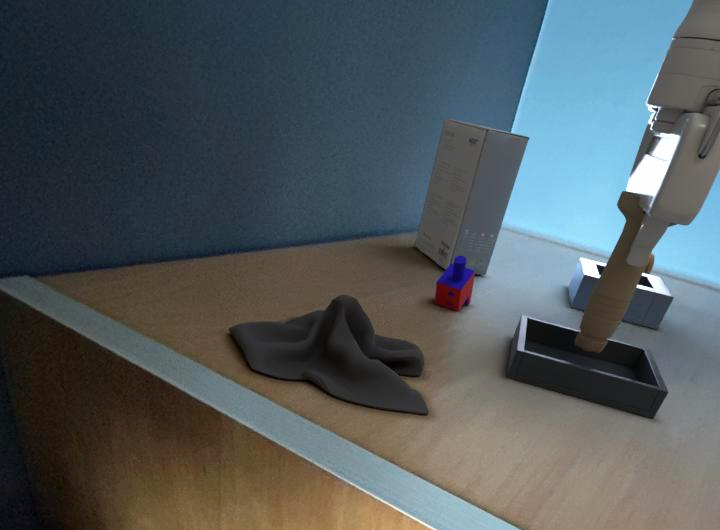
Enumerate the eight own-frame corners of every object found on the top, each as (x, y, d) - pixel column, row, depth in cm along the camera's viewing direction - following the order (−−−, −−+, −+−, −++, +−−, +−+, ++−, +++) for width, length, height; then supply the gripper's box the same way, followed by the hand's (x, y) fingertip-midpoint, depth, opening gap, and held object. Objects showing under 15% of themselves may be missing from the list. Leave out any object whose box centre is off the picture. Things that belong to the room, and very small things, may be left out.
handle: (565, 333, 66) (626, 190, 57) (620, 353, 64) (692, 206, 55) (554, 343, 63) (617, 192, 54) (612, 363, 61) (688, 209, 52)
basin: (637, 373, 70) (649, 349, 68) (653, 419, 59) (668, 392, 57) (512, 338, 72) (521, 314, 70) (506, 377, 61) (516, 350, 59)
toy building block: (433, 312, 80) (438, 263, 73) (447, 294, 81) (452, 244, 74) (456, 321, 79) (463, 272, 72) (470, 302, 80) (478, 252, 73)
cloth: (195, 344, 54) (196, 278, 50) (306, 308, 67) (313, 254, 64) (397, 438, 46) (416, 368, 43) (477, 377, 60) (497, 319, 56)
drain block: (645, 307, 98) (660, 277, 95) (657, 329, 87) (674, 297, 84) (568, 287, 100) (580, 257, 97) (570, 307, 89) (584, 274, 86)
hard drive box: (487, 277, 95) (531, 137, 83) (446, 272, 93) (486, 128, 81) (449, 250, 107) (484, 124, 95) (412, 246, 104) (443, 115, 92)
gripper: (783, 96, 41) (680, 291, 49) (716, 102, 57) (647, 248, 65) (692, 78, 42) (606, 272, 50) (652, 89, 58) (592, 235, 66)
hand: (629, 258), depth 58 cm, fingers closed on handle, 4 cm apart
